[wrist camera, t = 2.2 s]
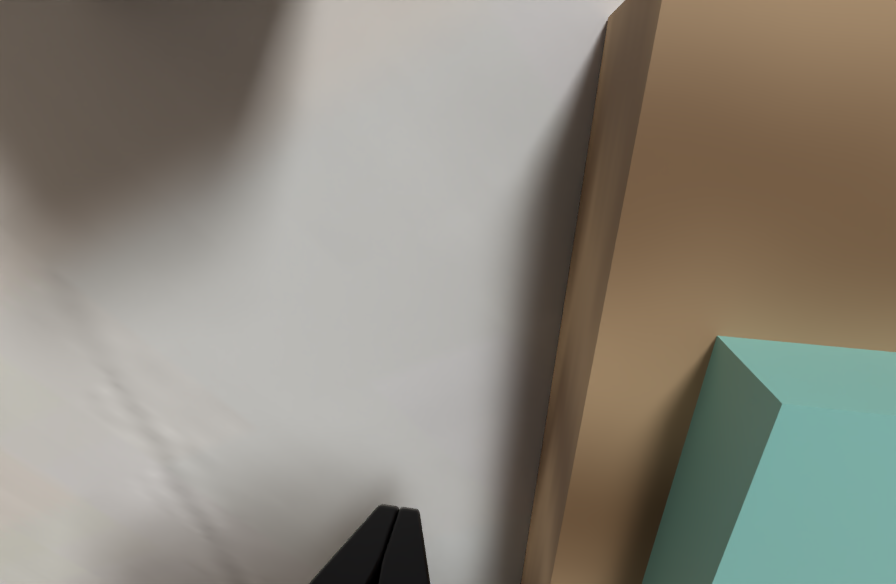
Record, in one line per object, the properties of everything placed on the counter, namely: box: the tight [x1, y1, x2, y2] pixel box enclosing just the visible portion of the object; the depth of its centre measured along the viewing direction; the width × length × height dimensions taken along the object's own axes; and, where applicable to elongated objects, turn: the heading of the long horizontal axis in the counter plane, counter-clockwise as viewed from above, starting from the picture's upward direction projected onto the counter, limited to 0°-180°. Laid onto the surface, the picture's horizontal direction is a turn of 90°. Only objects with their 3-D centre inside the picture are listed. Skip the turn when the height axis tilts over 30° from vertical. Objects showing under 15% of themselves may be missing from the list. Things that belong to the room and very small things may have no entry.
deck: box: [521, 0, 896, 584], centre depth 11 cm, size 20×11×4 cm, turn 177°
